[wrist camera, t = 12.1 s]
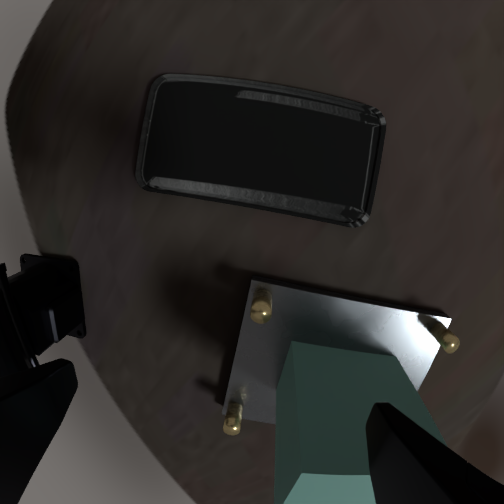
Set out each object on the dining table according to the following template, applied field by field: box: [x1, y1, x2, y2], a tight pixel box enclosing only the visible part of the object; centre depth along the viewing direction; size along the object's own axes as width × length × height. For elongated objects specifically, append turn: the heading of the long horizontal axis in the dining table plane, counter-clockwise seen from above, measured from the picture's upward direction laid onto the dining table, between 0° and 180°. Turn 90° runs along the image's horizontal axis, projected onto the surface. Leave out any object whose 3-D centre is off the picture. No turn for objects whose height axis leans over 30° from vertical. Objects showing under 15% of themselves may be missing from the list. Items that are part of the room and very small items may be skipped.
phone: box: [135, 74, 386, 227], centre depth 18 cm, size 8×1×15 cm
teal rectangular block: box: [274, 341, 447, 504], centre depth 16 cm, size 8×4×11 cm, turn 78°
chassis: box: [222, 275, 460, 435], centre depth 20 cm, size 15×12×4 cm
